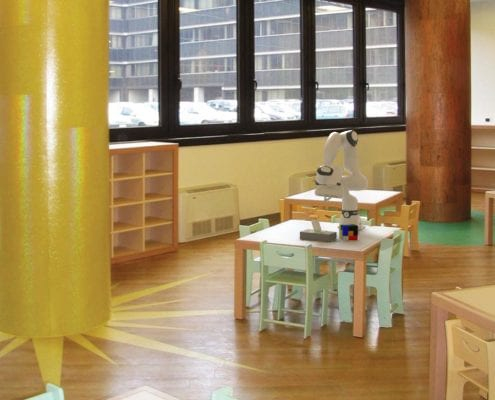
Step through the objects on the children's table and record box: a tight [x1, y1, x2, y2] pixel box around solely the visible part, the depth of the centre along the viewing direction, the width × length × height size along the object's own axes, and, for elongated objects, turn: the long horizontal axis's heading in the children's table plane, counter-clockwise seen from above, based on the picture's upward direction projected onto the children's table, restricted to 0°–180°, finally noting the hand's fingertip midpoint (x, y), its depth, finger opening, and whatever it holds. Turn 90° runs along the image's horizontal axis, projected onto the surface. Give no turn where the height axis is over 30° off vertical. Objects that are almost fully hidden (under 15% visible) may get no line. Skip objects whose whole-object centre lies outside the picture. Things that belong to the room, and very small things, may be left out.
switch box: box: [299, 228, 338, 243], centre depth 567 cm, size 12×22×5 cm, turn 59°
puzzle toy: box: [338, 223, 359, 242], centre depth 566 cm, size 10×10×10 cm
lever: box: [308, 213, 322, 232], centre depth 563 cm, size 3×6×13 cm
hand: (325, 201), depth 574 cm, fingers closed
